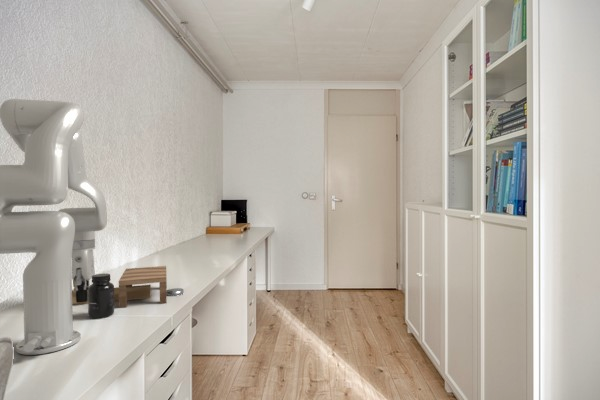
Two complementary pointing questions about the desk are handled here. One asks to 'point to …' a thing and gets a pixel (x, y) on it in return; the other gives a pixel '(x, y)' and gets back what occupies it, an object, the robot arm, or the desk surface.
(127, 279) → the desk riser
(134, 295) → the oak stick
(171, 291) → the steel disc
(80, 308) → the desk surface
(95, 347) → the desk surface
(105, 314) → the supplement bottle
